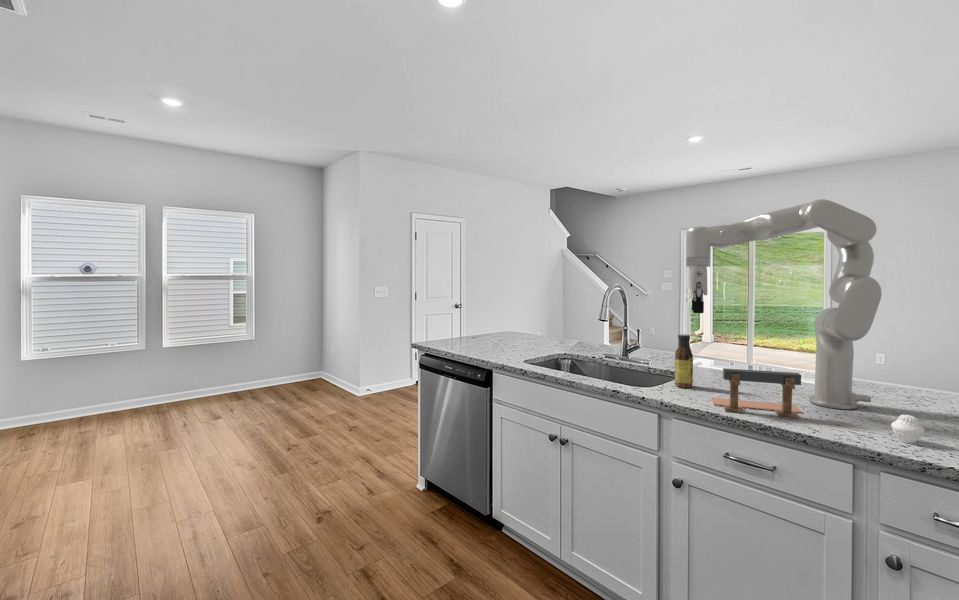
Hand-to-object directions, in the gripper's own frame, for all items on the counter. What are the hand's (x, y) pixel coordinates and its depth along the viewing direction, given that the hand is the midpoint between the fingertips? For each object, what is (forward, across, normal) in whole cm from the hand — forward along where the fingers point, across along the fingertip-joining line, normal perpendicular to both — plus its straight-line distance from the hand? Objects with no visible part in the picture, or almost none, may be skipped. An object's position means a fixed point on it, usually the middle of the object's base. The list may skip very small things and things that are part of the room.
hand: (697, 311), depth 155 cm
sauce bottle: (+30, +12, +4) cm, 32 cm away
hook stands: (+30, -15, -17) cm, 37 cm away
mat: (+30, -7, -16) cm, 35 cm away
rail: (+20, -15, -17) cm, 30 cm away
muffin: (+30, -27, -47) cm, 62 cm away
